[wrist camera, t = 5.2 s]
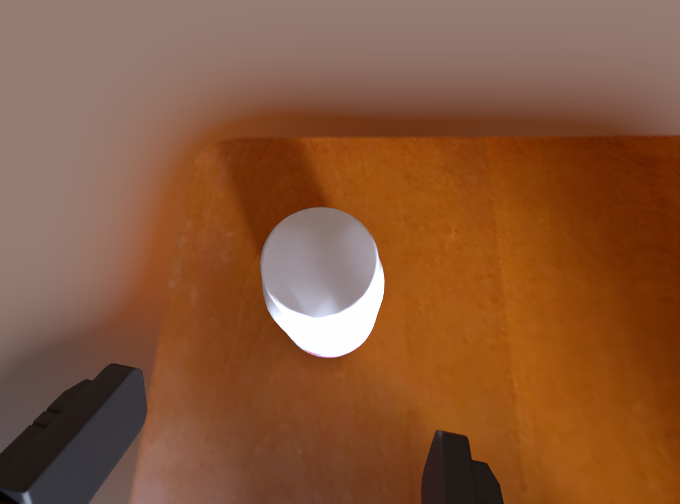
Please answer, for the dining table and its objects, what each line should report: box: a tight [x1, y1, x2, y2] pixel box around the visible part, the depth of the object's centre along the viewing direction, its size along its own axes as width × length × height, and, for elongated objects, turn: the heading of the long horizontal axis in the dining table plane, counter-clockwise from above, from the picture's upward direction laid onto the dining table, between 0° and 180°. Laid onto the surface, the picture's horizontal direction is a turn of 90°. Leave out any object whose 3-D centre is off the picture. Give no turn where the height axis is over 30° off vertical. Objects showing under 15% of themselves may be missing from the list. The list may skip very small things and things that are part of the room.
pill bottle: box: [260, 207, 384, 358], centre depth 17 cm, size 5×5×8 cm
